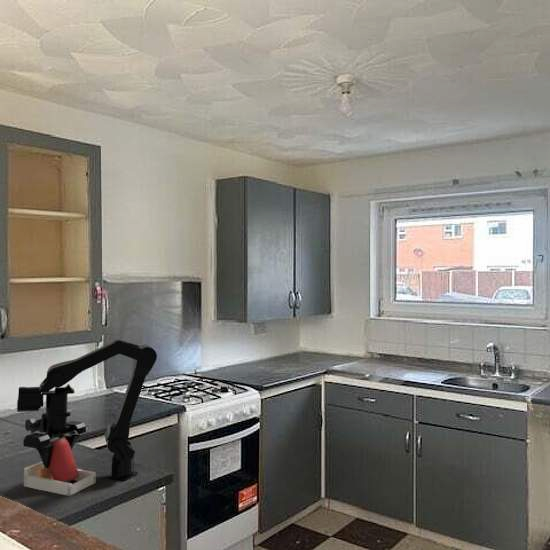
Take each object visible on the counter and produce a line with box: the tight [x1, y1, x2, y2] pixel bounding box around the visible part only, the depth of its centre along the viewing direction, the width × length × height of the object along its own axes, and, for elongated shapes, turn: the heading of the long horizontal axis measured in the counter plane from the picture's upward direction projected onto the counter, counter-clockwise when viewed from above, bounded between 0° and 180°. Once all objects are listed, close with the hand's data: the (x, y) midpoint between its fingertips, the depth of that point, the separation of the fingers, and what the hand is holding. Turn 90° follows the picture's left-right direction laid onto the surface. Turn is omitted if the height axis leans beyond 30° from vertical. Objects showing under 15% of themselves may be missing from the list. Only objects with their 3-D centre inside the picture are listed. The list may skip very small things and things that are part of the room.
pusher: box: [38, 466, 54, 480], centre depth 162 cm, size 8×1×6 cm, turn 158°
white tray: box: [23, 461, 97, 497], centre depth 160 cm, size 10×16×5 cm, turn 68°
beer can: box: [49, 437, 79, 483], centre depth 160 cm, size 7×7×12 cm
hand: (55, 464), depth 161 cm, fingers closed on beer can, 6 cm apart
